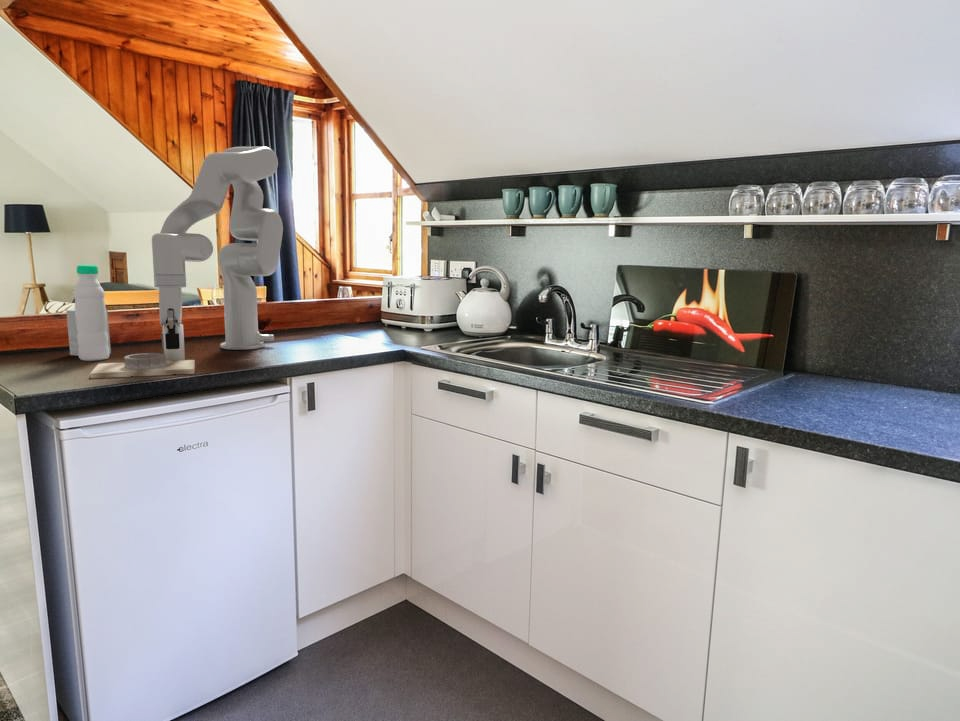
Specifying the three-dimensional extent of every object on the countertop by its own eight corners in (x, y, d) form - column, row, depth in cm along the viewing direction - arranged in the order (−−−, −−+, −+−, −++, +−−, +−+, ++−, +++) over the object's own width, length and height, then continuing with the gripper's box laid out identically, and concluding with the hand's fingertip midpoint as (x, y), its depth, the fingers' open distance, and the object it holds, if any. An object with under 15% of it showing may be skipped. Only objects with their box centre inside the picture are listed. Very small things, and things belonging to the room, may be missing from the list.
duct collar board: (194, 364, 169) (194, 350, 169) (194, 373, 157) (193, 358, 157) (99, 368, 161) (97, 353, 160) (90, 378, 149) (89, 362, 148)
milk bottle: (95, 361, 169) (88, 265, 164) (72, 360, 170) (64, 265, 166) (115, 357, 175) (108, 265, 171) (93, 356, 177) (86, 264, 172)
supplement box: (112, 353, 181) (108, 309, 179) (86, 357, 174) (82, 311, 172) (94, 351, 184) (91, 307, 182) (69, 355, 177) (65, 309, 175)
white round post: (185, 360, 175) (183, 323, 173) (184, 363, 170) (182, 326, 168) (163, 361, 173) (161, 324, 171) (162, 364, 168) (160, 326, 166)
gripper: (156, 279, 174) (160, 341, 177) (151, 283, 158) (155, 351, 161) (186, 279, 177) (190, 341, 180) (185, 283, 161) (188, 350, 164)
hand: (173, 346), depth 171 cm, fingers open, 9 cm apart
